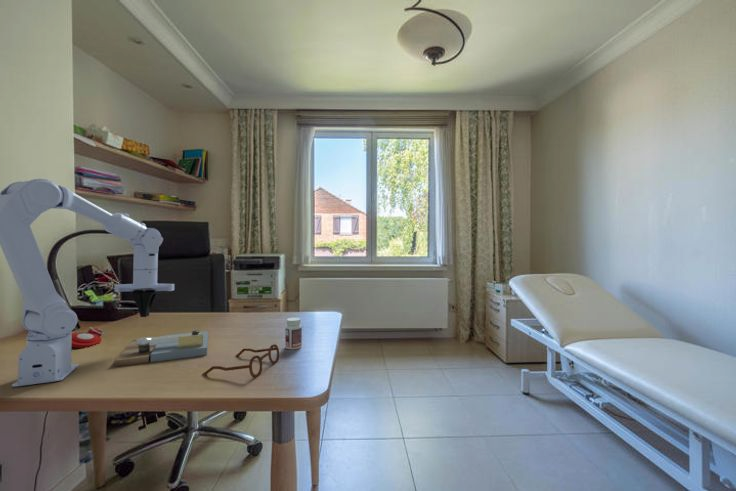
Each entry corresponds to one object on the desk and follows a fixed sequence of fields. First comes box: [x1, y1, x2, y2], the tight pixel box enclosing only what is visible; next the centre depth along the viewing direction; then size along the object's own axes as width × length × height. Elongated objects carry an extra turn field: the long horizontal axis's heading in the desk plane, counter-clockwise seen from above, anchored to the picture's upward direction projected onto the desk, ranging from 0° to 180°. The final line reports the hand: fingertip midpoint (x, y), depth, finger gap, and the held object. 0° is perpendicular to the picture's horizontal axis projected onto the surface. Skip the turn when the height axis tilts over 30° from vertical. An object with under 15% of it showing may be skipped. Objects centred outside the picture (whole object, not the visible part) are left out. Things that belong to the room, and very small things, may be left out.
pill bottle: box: [284, 317, 303, 351], centre depth 92 cm, size 5×5×8 cm
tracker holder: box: [71, 326, 105, 349], centre depth 94 cm, size 12×4×10 cm
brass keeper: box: [178, 334, 203, 348], centre depth 87 cm, size 4×6×3 cm
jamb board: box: [114, 339, 156, 368], centre depth 86 cm, size 18×7×3 cm, turn 26°
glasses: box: [201, 344, 280, 378], centre depth 77 cm, size 13×13×5 cm
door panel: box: [150, 330, 210, 363], centre depth 90 cm, size 18×13×2 cm
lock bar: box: [136, 329, 200, 347], centre depth 86 cm, size 15×3×2 cm, turn 116°
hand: (144, 316), depth 90 cm, fingers closed
